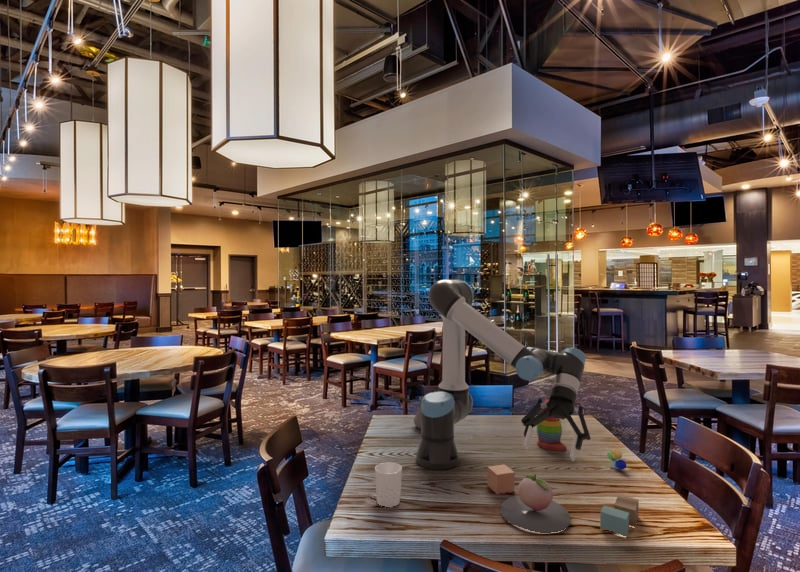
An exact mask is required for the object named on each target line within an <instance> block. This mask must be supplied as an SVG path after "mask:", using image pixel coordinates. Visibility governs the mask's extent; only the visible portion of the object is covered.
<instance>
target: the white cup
mask: <svg viewBox="0 0 800 572" xmlns="http://www.w3.org/2000/svg"><path fill="white" fill-rule="evenodd" d="M374 475H375V476H374V477H375V478H374V480H375V481H374V482H375V492H376V503H377V505H378V504H379V505H378V506H380V505H381V506H380V507H382V506H385V507H384V508H386V507H390V508H394V507H393V506H395V507H397V506H398V505H400V502H401V492H402V475H403V466H402V465H400V464H399V463H397V462H393V461H392V462H390V461H389V462H388V461H386V462H381V463H379V464H377V465H375V467H374ZM396 505H397V506H396Z"/></svg>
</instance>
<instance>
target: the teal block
mask: <svg viewBox="0 0 800 572" xmlns="http://www.w3.org/2000/svg"><path fill="white" fill-rule="evenodd" d="M599 513H600V518H599V519H600V526H599V530H600V529H604V530H609V531H613V532H615V533H618V534H621V535H623V536H627V533H628V530H629V531H630V528H629V513H628V512H625V511H621V510H618V509H614V507H610V506H607V505H603V507H602V508H601V510H600V512H599ZM628 534H629V533H628ZM627 537H628V536H627Z"/></svg>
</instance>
